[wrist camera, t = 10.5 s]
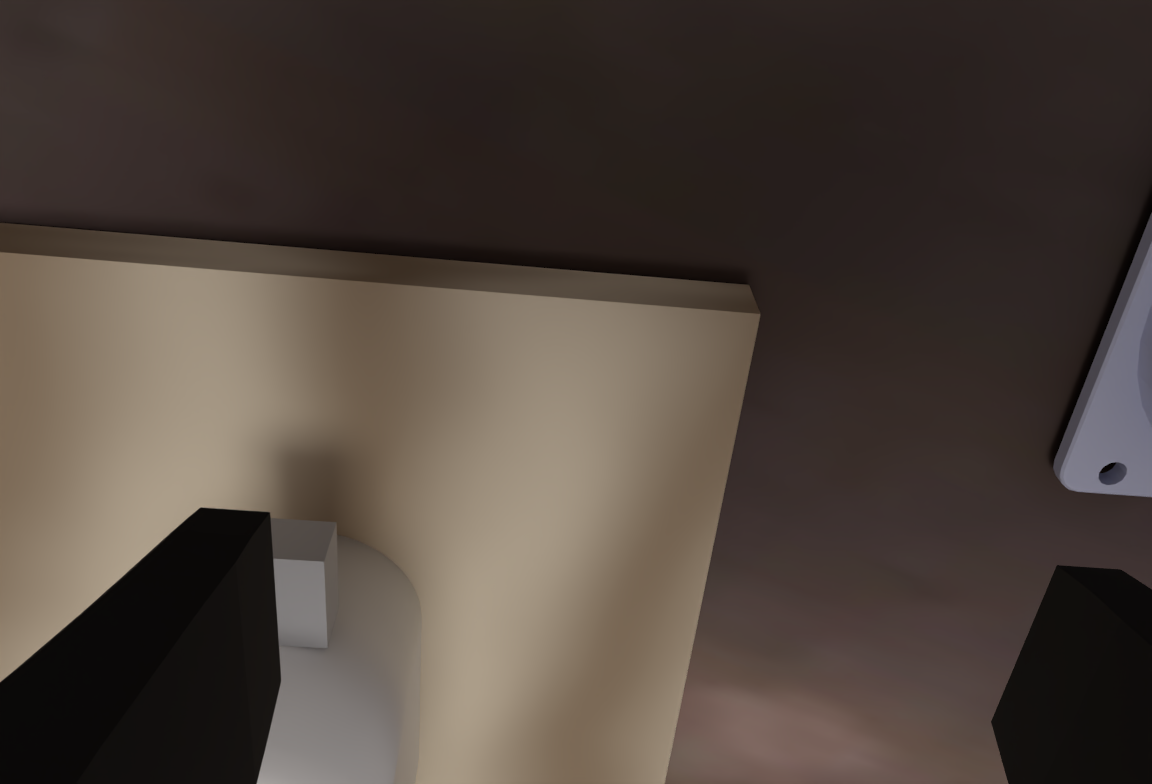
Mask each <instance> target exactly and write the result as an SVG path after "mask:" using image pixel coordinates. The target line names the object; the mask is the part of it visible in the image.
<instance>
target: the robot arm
mask: <svg viewBox="0 0 1152 784" xmlns="http://www.w3.org/2000/svg"><path fill="white" fill-rule="evenodd" d="M1114 462H1117V463H1116V464H1115V466H1114V467H1113V468H1112V469H1111V470H1109V471H1107V472H1106V473H1099V472H1100V471H1101V470H1102V468H1103V467H1104V466H1106V465H1108V464H1110V463H1114ZM1053 469H1054V472H1055V475H1056V476H1057V478H1058V479H1059V480H1060V482H1061V483H1062V484H1063V485H1064V486H1065V487H1066V488H1067V489H1069V490H1073V491H1076V492H1087V493H1101V494H1115V495H1129V496H1143V497H1152V213H1151V215H1150V218H1149V221H1148V223H1147V226H1146V228H1145V231H1144V233H1143V236H1142V238H1141V241H1140V243H1139V246H1138V249H1137V251H1136V254H1135V256H1134V259H1133V261H1132V264H1131V266H1130V269H1129V271H1128V274H1127V277H1126V279H1125V282H1124V284H1123V287H1122V289H1121V292H1120V294H1119V297H1118V299H1117V302H1116V305H1115V307H1114V310H1113V312H1112V315H1111V317H1110V320H1109V322H1108V325H1107V327H1106V330H1105V332H1104V335H1103V338H1102V340H1101V343H1100V345H1099V348H1098V350H1097V353H1096V355H1095V358H1094V360H1093V363H1092V366H1091V368H1090V371H1089V373H1088V376H1087V378H1086V381H1085V383H1084V386H1083V388H1082V391H1081V394H1080V396H1079V399H1078V401H1077V404H1076V406H1075V409H1074V411H1073V414H1072V416H1071V419H1070V421H1069V424H1068V427H1067V429H1066V432H1065V434H1064V437H1063V439H1062V442H1061V444H1060V447H1059V449H1058V452H1057V455H1056V457H1055V460H1054V466H1053ZM280 684H281V669H280V653H279V638H278V623H277V608H276V593H275V577H274V562H273V547H272V532H271V517H270V512H261V511H246V510H231V509H216V508H202V507H201V508H199V509H198V510H197V511H196V512H194V513H193V514H192V515H191V516H189V517H188V518H187V519H186V520H185V521H184V522H182V523H181V524H180V525H179V526H178V527H177V528H176V529H174V530H173V531H172V532H171V533H170V534H169V535H168V536H167V537H166V538H164V539H163V540H162V541H161V542H160V543H159V544H158V545H157V546H156V547H154V548H153V549H152V550H151V551H150V552H149V553H148V554H147V555H146V556H145V557H143V558H142V559H141V560H140V561H139V562H138V563H137V564H136V565H135V566H134V567H132V568H131V569H130V570H129V571H128V572H127V573H126V574H125V575H124V576H123V577H121V578H120V579H119V580H118V581H117V582H116V583H115V584H114V585H112V586H111V587H110V588H109V589H108V590H107V591H106V592H105V593H103V594H102V595H101V596H100V597H99V598H98V599H97V600H96V601H95V602H93V603H92V604H91V605H90V606H89V607H88V608H87V609H86V610H84V611H83V612H82V613H81V614H80V615H79V616H77V617H76V618H75V619H74V620H73V621H72V622H70V623H69V624H68V625H67V626H66V627H65V628H63V629H62V630H61V631H60V632H59V633H58V634H56V635H55V636H54V637H53V638H52V639H51V640H49V641H48V642H47V643H46V644H45V645H44V646H42V647H41V648H40V649H39V650H38V651H37V652H35V653H34V654H33V655H32V656H31V657H30V658H28V659H27V660H26V661H25V662H24V663H23V664H21V665H20V666H19V667H18V668H17V669H15V670H14V671H13V672H12V673H11V674H9V675H8V676H7V677H6V678H5V679H3V680H2V681H1V682H0V784H257V780H258V776H259V772H260V768H261V764H262V760H263V756H264V752H265V748H266V744H267V740H268V736H269V732H270V727H271V723H272V719H273V714H274V710H275V706H276V701H277V697H278V693H279V688H280ZM991 723H992V726H993V730H994V734H995V737H996V741H997V744H998V748H999V751H1000V755H1001V759H1002V762H1003V766H1004V769H1005V773H1006V776H1007V780H1008V783H1009V784H1152V590H1151V589H1150V588H1148V587H1147V586H1146V585H1144V584H1142V583H1141V582H1139V581H1138V580H1136V579H1135V578H1133V577H1131V576H1130V575H1128V574H1127V573H1125V572H1124V571H1122V570H1118V569H1103V568H1089V567H1074V566H1059V565H1057V567H1056V569H1055V571H1054V574H1053V576H1052V578H1051V581H1050V583H1049V586H1048V588H1047V590H1046V593H1045V595H1044V597H1043V600H1042V602H1041V605H1040V607H1039V609H1038V612H1037V614H1036V616H1035V619H1034V621H1033V624H1032V626H1031V628H1030V631H1029V633H1028V635H1027V638H1026V640H1025V643H1024V645H1023V647H1022V650H1021V652H1020V654H1019V657H1018V659H1017V662H1016V664H1015V666H1014V669H1013V671H1012V674H1011V676H1010V678H1009V681H1008V683H1007V685H1006V688H1005V690H1004V693H1003V695H1002V697H1001V700H1000V702H999V704H998V707H997V709H996V712H995V714H994V716H993V719H992V721H991Z"/></svg>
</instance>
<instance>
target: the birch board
mask: <svg viewBox="0 0 1152 784" xmlns="http://www.w3.org/2000/svg"><path fill="white" fill-rule="evenodd" d="M760 315H761V314H760V311H759V309H758V306H757V304H756V301H755V299H754V296H753V294H752V291H751V289H750V286H749V285H744V284H732V283H720V282H708V281H696V280H684V279H672V278H660V277H647V276H635V275H623V274H611V273H599V272H587V271H575V270H563V269H551V268H539V267H527V266H515V265H503V264H491V263H479V262H467V261H455V260H443V259H431V258H419V257H407V256H395V255H383V254H371V253H359V252H347V251H334V250H322V249H310V248H298V247H286V246H274V245H262V244H250V243H238V242H226V241H214V240H202V239H190V238H178V237H166V236H154V235H142V234H130V233H118V232H106V231H94V230H82V229H70V228H58V227H46V226H34V225H21V224H9V223H0V682H1V681H2V680H3V679H5V678H6V677H7V676H8V675H9V674H11V673H12V672H13V671H14V670H15V669H17V668H18V667H19V666H20V665H21V664H23V663H24V662H25V661H26V660H27V659H28V658H30V657H31V656H32V655H33V654H34V653H35V652H37V651H38V650H39V649H40V648H41V647H42V646H44V645H45V644H46V643H47V642H48V641H49V640H51V639H52V638H53V637H54V636H55V635H56V634H58V633H59V632H60V631H61V630H62V629H63V628H65V627H66V626H67V625H68V624H69V623H70V622H72V621H73V620H74V619H75V618H76V617H77V616H79V615H80V614H81V613H82V612H83V611H84V610H86V609H87V608H88V607H89V606H90V605H91V604H92V603H93V602H95V601H96V600H97V599H98V598H99V597H100V596H101V595H102V594H103V593H105V592H106V591H107V590H108V589H109V588H110V587H111V586H112V585H114V584H115V583H116V582H117V581H118V580H119V579H120V578H121V577H123V576H124V575H125V574H126V573H127V572H128V571H129V570H130V569H131V568H132V567H134V566H135V565H136V564H137V563H138V562H139V561H140V560H141V559H142V558H143V557H145V556H146V555H147V554H148V553H149V552H150V551H151V550H152V549H153V548H154V547H156V546H157V545H158V544H159V543H160V542H161V541H162V540H163V539H164V538H166V537H167V536H168V535H169V534H170V533H171V532H172V531H173V530H174V529H176V528H177V527H178V526H179V525H180V524H181V523H182V522H184V521H185V520H186V519H187V518H188V517H189V516H191V515H192V514H193V513H194V512H196V511H197V510H198V509H199V508H201V507H202V508H216V509H231V510H246V511H261V512H270V517H271V518H277V519H293V520H309V521H325V522H336V526H337V535H340V536H345V537H348V538H351V539H354V540H357V541H359V542H361V543H364V544H366V545H368V546H370V547H372V548H374V549H375V550H377V551H379V552H381V553H382V554H384V555H385V556H386V557H388V558H389V559H390V560H392V561H393V562H394V563H395V564H396V565H397V566H398V567H399V568H400V569H401V570H402V571H403V572H404V574H405V575H406V576H407V577H408V579H409V580H410V582H411V584H412V585H413V587H414V589H415V591H416V593H417V596H418V598H419V602H420V607H421V617H422V623H421V674H420V724H419V760H418V768H417V775H416V781H415V784H665V779H666V774H667V769H668V764H669V759H670V755H671V750H672V745H673V740H674V735H675V730H676V725H677V720H678V715H679V711H680V706H681V701H682V696H683V691H684V686H685V681H686V676H687V671H688V667H689V662H690V657H691V652H692V647H693V642H694V637H695V632H696V627H697V623H698V618H699V613H700V608H701V603H702V598H703V593H704V588H705V583H706V579H707V574H708V569H709V564H710V559H711V554H712V549H713V544H714V539H715V535H716V530H717V525H718V520H719V515H720V510H721V505H722V500H723V495H724V491H725V486H726V481H727V476H728V471H729V466H730V461H731V456H732V451H733V447H734V442H735V437H736V432H737V427H738V422H739V417H740V412H741V407H742V403H743V398H744V393H745V388H746V383H747V378H748V373H749V368H750V364H751V359H752V354H753V349H754V344H755V339H756V334H757V329H758V324H759V320H760Z"/></svg>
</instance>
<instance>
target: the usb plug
mask: <svg viewBox="0 0 1152 784" xmlns="http://www.w3.org/2000/svg"><path fill="white" fill-rule="evenodd" d="M271 532H272V547H273V562H274V577H275V593H276V608H277V623H278V638H279V653H280V669H281V684H280V688H279V693H278V697H277V701H276V706H275V710H274V714H273V719H272V723H271V727H270V732H269V736H268V740H267V744H266V748H265V752H264V756H263V760H262V764H261V768H260V772H259V776H258V780H257V784H415V781H416V775H417V768H418V760H419V724H420V674H421V623H422V617H421V607H420V602H419V598H418V596H417V593H416V591H415V589H414V587H413V585H412V584H411V582H410V580H409V579H408V577H407V576H406V575H405V574H404V572H403V571H402V570H401V569H400V568H399V567H398V566H397V565H396V564H395V563H394V562H393V561H392V560H390V559H389V558H388V557H386V556H385V555H384V554H382V553H381V552H379V551H377V550H375V549H374V548H372V547H370V546H368V545H366V544H364V543H361V542H359V541H357V540H354V539H351V538H348V537H345V536H340V535H337V526H336V522H325V521H309V520H293V519H277V518H271Z"/></svg>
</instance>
